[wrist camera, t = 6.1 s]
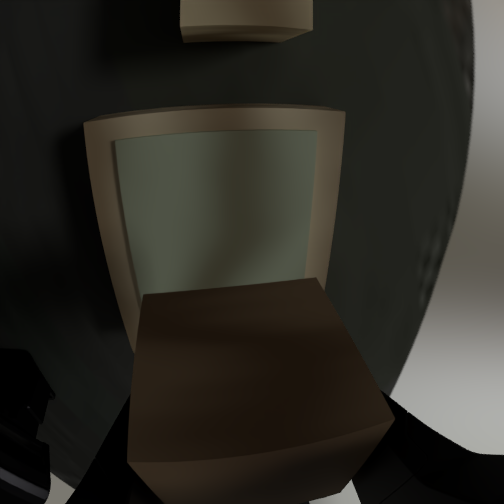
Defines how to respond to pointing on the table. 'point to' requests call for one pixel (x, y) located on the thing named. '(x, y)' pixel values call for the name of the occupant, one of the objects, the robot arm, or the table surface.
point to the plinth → (213, 196)
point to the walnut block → (250, 396)
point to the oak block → (244, 20)
